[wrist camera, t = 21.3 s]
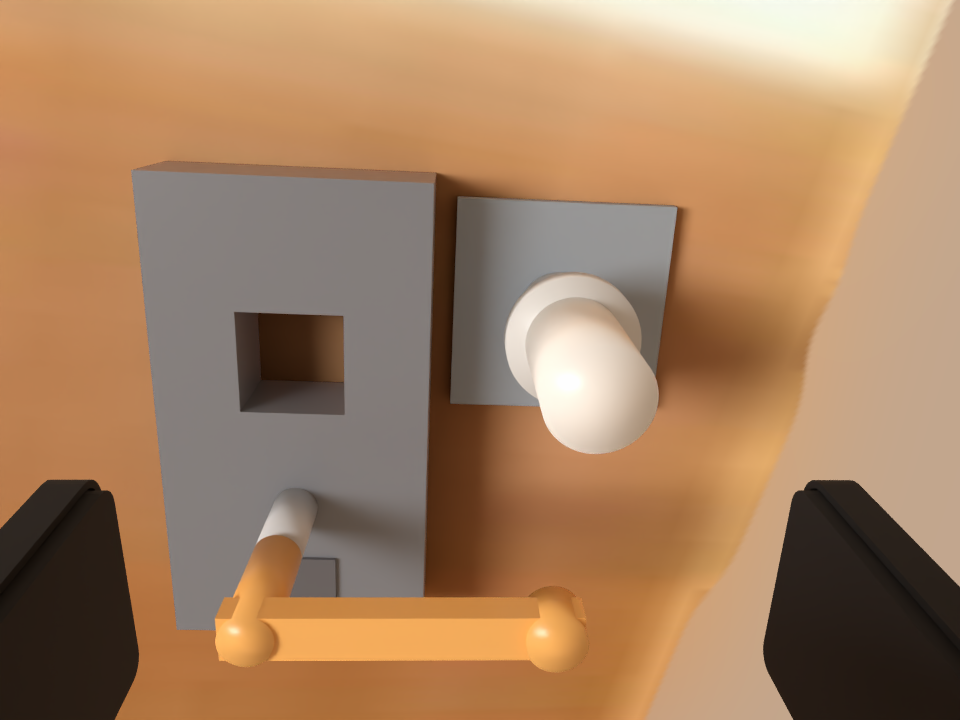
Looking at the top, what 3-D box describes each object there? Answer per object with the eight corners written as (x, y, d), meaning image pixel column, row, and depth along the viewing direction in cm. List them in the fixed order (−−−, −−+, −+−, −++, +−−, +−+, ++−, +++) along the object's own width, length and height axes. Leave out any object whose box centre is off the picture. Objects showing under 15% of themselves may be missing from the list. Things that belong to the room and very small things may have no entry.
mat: (457, 195, 36) (457, 197, 35) (673, 205, 36) (677, 207, 35) (450, 398, 39) (450, 403, 38) (648, 405, 39) (651, 409, 39)
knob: (501, 248, 36) (522, 318, 25) (622, 253, 36) (692, 324, 26) (495, 362, 38) (512, 472, 27) (609, 366, 38) (671, 476, 27)
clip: (569, 533, 32) (591, 620, 27) (566, 578, 33) (586, 672, 28) (251, 532, 32) (210, 621, 27) (254, 578, 33) (216, 673, 27)
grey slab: (166, 160, 35) (89, 180, 27) (436, 172, 35) (431, 195, 28) (201, 580, 42) (148, 684, 35) (425, 585, 42) (418, 688, 35)
